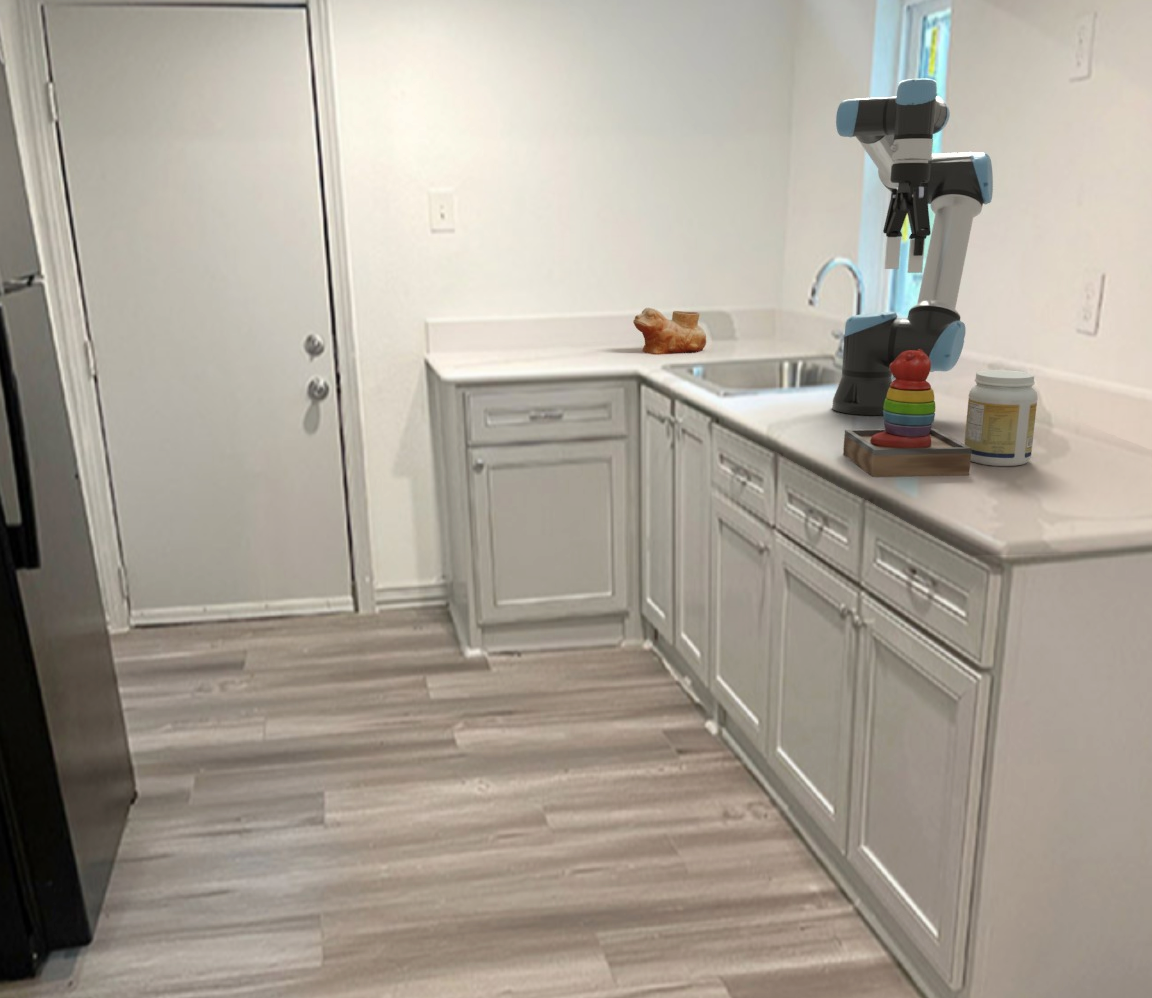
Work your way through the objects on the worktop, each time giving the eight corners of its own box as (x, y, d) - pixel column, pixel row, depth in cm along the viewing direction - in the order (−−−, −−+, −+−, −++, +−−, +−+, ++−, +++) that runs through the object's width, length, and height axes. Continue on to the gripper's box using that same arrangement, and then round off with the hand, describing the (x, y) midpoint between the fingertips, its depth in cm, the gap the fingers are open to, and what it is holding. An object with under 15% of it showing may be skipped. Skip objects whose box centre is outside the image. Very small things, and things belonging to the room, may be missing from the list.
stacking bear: (895, 435, 206) (902, 344, 202) (943, 443, 199) (951, 349, 195) (865, 443, 199) (872, 350, 194) (914, 452, 192) (923, 355, 187)
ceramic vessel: (626, 351, 360) (626, 306, 356) (696, 347, 368) (697, 304, 364) (641, 356, 348) (641, 310, 344) (713, 352, 355) (714, 307, 351)
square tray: (843, 454, 208) (844, 429, 207) (931, 452, 209) (934, 428, 208) (872, 476, 191) (874, 449, 190) (969, 474, 192) (971, 448, 191)
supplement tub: (999, 451, 210) (1008, 367, 206) (1044, 464, 200) (1055, 375, 195) (949, 456, 206) (957, 370, 202) (992, 470, 195) (1002, 379, 191)
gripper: (872, 164, 221) (865, 267, 227) (915, 159, 197) (906, 274, 203) (907, 164, 222) (899, 267, 227) (954, 159, 198) (944, 274, 203)
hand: (902, 271), depth 215 cm, fingers open, 13 cm apart
